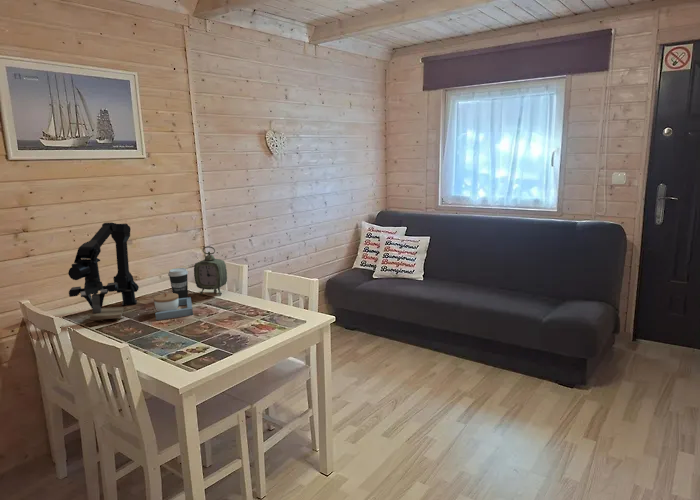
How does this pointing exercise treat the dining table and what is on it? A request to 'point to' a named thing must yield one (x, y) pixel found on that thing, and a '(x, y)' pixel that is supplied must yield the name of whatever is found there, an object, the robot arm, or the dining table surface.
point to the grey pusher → (104, 310)
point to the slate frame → (178, 312)
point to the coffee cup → (179, 281)
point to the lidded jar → (166, 302)
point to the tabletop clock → (210, 273)
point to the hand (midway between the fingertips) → (97, 307)
